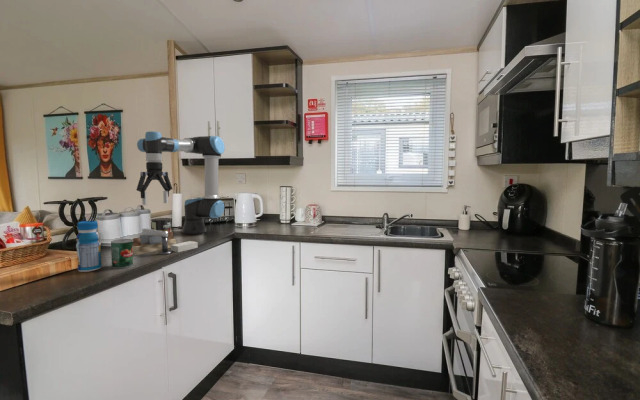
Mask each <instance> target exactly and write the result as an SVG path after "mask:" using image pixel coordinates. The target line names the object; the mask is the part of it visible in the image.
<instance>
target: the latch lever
mask: <svg viewBox="0 0 640 400" xmlns="http://www.w3.org/2000/svg"><path fill="white" fill-rule="evenodd" d="M141 231H142V232H141V235H146V234H147V235H153V236H159V237H168V231H160V230H153V229H152V228H142V229H141Z"/></svg>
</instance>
